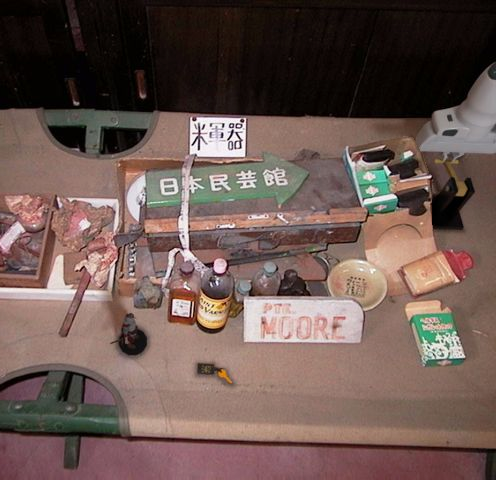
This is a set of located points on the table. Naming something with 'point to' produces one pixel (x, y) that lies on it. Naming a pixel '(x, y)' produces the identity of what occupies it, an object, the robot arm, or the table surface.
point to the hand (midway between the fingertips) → (446, 159)
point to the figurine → (131, 337)
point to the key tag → (212, 371)
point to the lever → (461, 185)
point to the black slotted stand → (450, 205)
